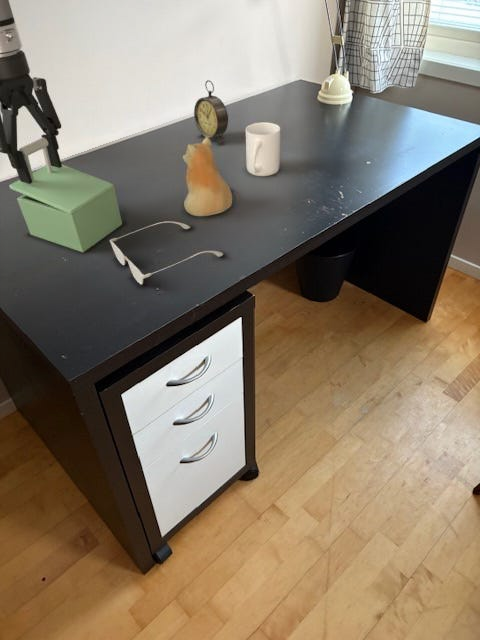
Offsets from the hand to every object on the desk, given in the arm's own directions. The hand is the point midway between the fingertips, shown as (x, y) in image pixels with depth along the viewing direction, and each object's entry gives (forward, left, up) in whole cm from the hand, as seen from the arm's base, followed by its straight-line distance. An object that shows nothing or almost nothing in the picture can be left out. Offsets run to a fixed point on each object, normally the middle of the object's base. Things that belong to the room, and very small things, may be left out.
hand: (41, 173), depth 100 cm
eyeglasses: (+29, -10, -12) cm, 33 cm away
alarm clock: (+25, +51, -12) cm, 58 cm away
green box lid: (+5, -2, -2) cm, 6 cm away
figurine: (+32, +13, -12) cm, 37 cm away
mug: (+42, +30, -12) cm, 53 cm away
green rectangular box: (+5, -2, -12) cm, 13 cm away
